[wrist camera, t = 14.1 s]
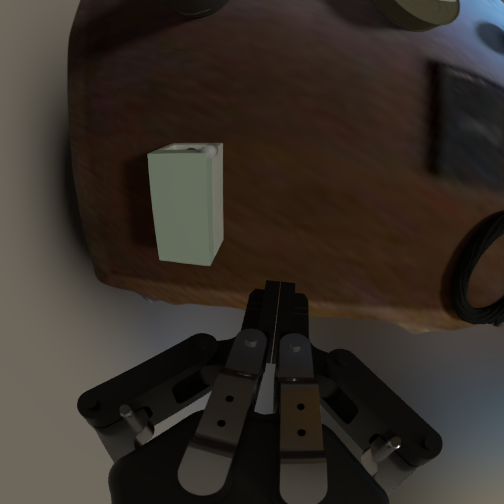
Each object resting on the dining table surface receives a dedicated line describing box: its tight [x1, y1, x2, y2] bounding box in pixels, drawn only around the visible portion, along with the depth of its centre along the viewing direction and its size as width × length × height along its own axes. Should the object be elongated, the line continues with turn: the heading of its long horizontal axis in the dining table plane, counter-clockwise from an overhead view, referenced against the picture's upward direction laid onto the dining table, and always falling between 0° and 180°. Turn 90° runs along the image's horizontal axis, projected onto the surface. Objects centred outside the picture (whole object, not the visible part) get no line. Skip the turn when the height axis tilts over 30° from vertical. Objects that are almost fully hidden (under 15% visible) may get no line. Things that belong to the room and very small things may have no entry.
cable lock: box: [451, 213, 504, 327], centre depth 40 cm, size 28×4×30 cm
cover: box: [148, 143, 218, 266], centre depth 37 cm, size 17×9×2 cm, turn 178°
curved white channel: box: [158, 143, 223, 256], centre depth 41 cm, size 16×8×6 cm, turn 178°
